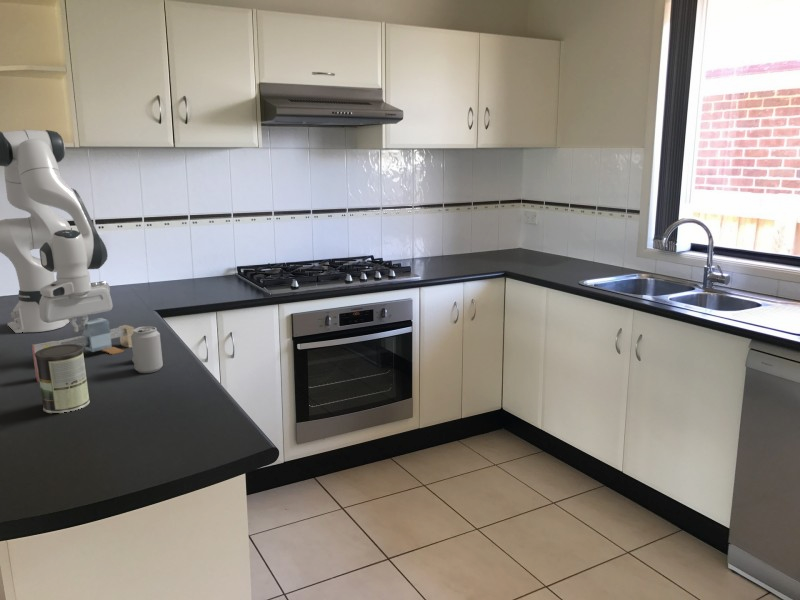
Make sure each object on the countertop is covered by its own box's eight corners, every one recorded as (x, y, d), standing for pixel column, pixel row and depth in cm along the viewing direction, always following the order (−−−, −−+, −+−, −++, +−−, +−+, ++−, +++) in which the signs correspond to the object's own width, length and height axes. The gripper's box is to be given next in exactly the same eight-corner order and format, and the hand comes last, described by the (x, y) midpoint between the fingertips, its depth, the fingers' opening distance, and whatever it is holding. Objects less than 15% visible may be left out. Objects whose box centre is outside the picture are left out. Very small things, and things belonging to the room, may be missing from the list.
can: (134, 367, 189) (129, 327, 186) (162, 364, 191) (158, 324, 189) (135, 375, 182) (130, 333, 179) (164, 371, 185) (159, 330, 182)
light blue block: (84, 348, 203) (80, 321, 201) (103, 344, 207) (100, 317, 205) (92, 351, 199) (89, 324, 197) (111, 347, 204) (108, 320, 202)
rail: (44, 361, 196) (41, 341, 195) (123, 342, 215) (121, 323, 214) (59, 367, 190) (57, 346, 189) (140, 347, 209) (138, 328, 207)
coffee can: (34, 414, 156) (25, 356, 153) (57, 398, 166) (49, 344, 163) (77, 413, 156) (69, 356, 152) (97, 397, 166) (91, 343, 162)
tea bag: (36, 378, 181) (31, 343, 179) (63, 373, 185) (58, 339, 183) (37, 382, 178) (32, 346, 176) (65, 377, 182) (60, 342, 180)
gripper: (103, 279, 205) (108, 322, 208) (33, 290, 190) (40, 336, 193) (113, 281, 201) (118, 325, 204) (43, 292, 186) (49, 340, 189)
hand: (80, 331), depth 198 cm, fingers closed
